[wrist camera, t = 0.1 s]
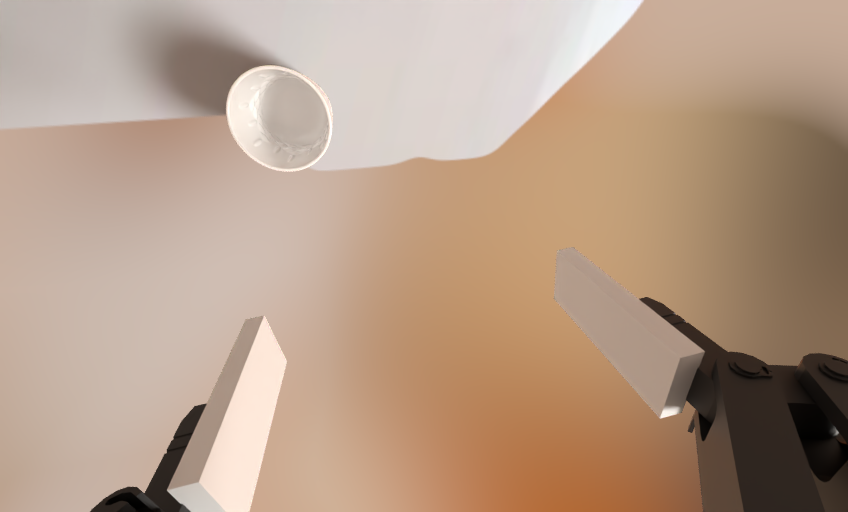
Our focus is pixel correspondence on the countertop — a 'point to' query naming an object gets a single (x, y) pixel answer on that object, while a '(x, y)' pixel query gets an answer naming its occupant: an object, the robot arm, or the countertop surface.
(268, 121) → the white cup
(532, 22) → the countertop surface
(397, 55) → the countertop surface
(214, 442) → the robot arm
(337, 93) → the countertop surface
